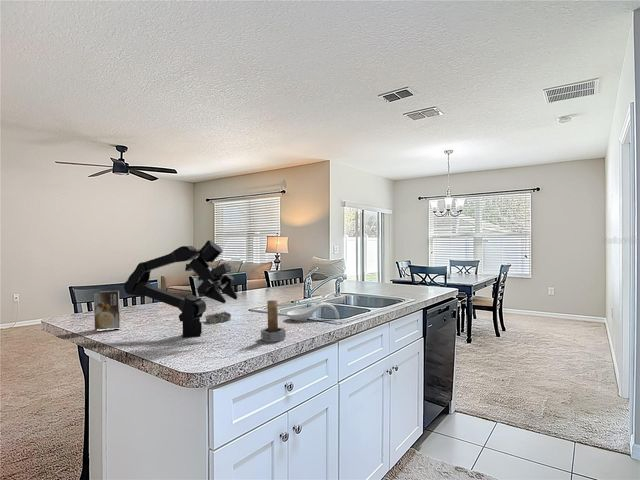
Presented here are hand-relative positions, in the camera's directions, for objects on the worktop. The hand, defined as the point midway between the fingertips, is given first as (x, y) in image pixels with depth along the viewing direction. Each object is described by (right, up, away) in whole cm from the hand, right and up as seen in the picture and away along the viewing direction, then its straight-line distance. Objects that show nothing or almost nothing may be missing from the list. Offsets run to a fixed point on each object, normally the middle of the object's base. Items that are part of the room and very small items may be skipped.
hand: (231, 300), depth 141 cm
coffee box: (-55, -15, +17) cm, 60 cm away
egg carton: (-13, -15, +30) cm, 36 cm away
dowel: (+16, -12, -4) cm, 21 cm away
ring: (+16, -13, -4) cm, 21 cm away
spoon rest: (+30, -14, +30) cm, 45 cm away
